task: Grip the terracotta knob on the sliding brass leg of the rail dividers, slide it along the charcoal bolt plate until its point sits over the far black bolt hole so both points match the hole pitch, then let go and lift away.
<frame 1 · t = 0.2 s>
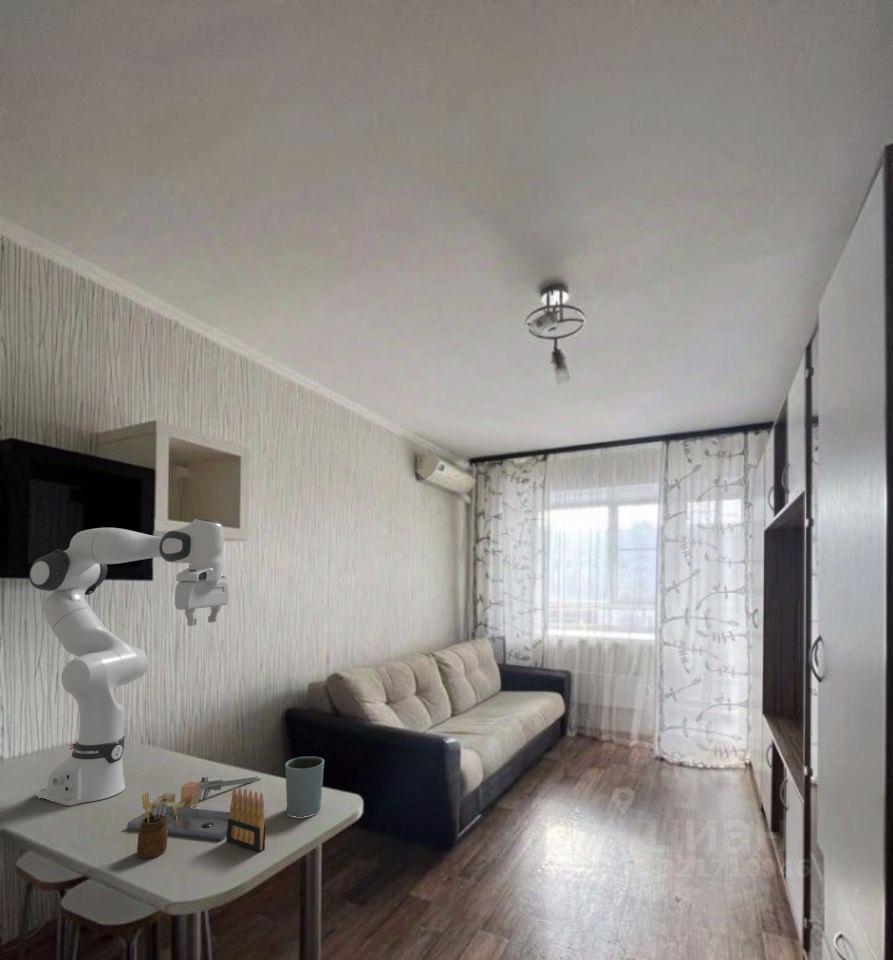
hand: (202, 623, 157), 47 cm above the table, tool pointing down, fingers open, 8 cm apart
utensil holder: (151, 853, 124), on the table
ammunition clip: (245, 846, 127), on the table
bolt plate: (187, 825, 137), on the table
caliper: (229, 791, 159), on the table
grey-teal cup: (303, 811, 145), on the table
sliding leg: (184, 800, 139), point 5 cm above the table, slide at 0.0 cm
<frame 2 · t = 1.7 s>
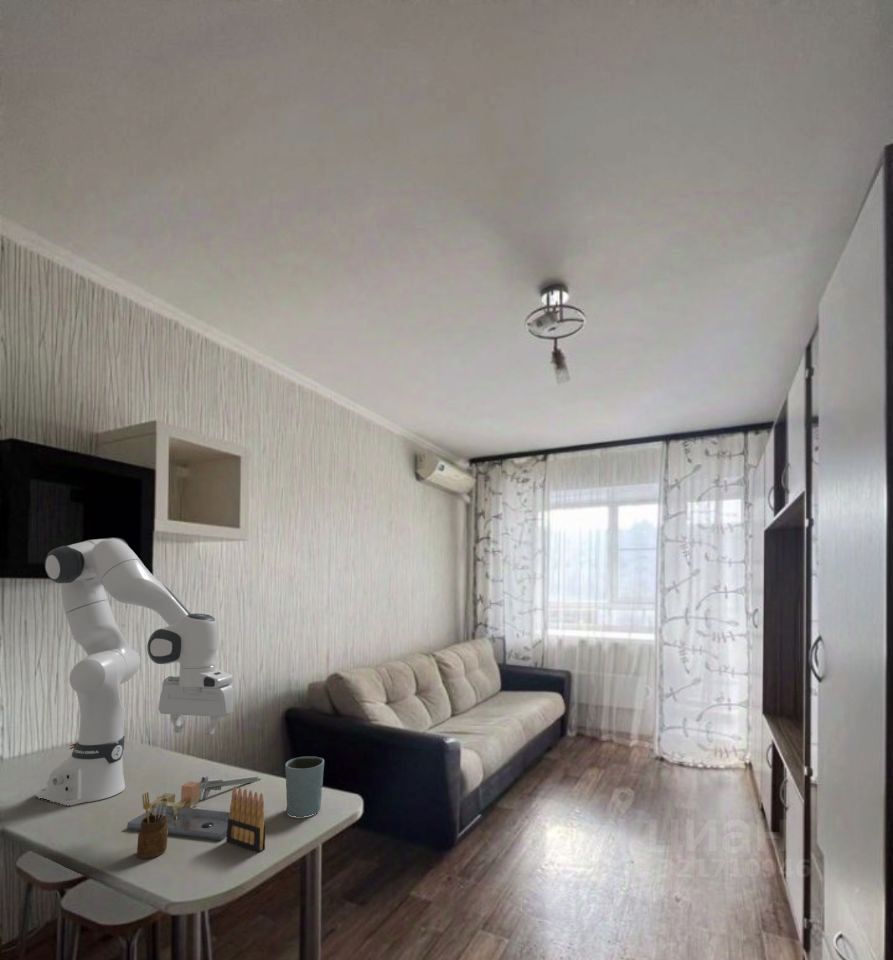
hand: (194, 733, 143), 21 cm above the table, tool pointing down, fingers open, 8 cm apart
nothing on the table moved.
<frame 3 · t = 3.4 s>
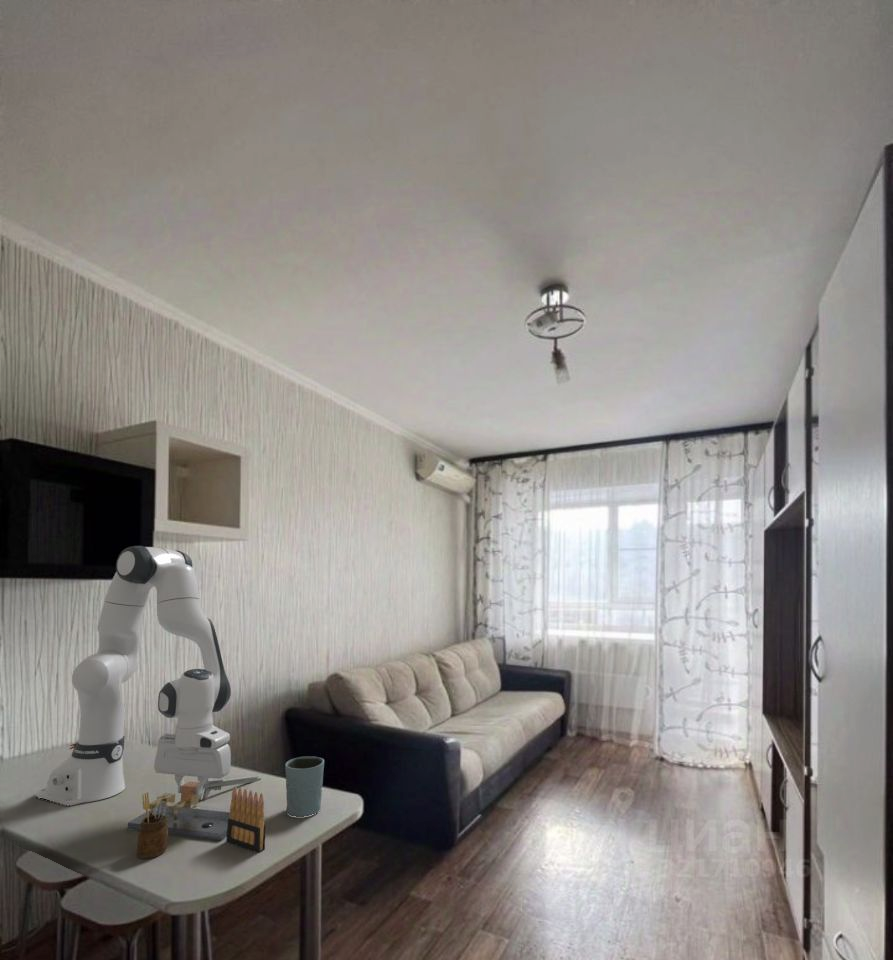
hand: (190, 793, 141), 6 cm above the table, tool pointing down, fingers closed on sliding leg, 3 cm apart
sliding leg: (184, 800, 139), point 5 cm above the table, slide at 0.0 cm, touching gripper
everything else where it was.
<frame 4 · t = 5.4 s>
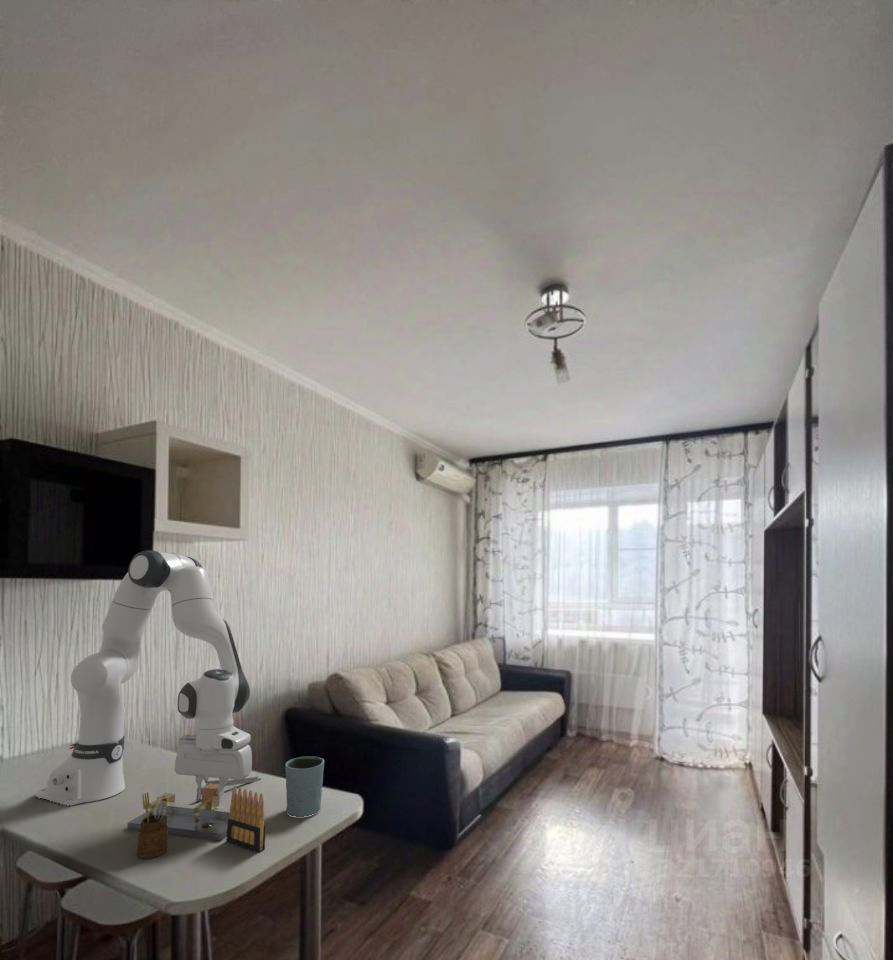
hand: (211, 794, 140), 6 cm above the table, tool pointing down, fingers closed on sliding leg, 3 cm apart
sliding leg: (205, 802, 138), point 5 cm above the table, slide at 6.0 cm, touching gripper
everything else where it was.
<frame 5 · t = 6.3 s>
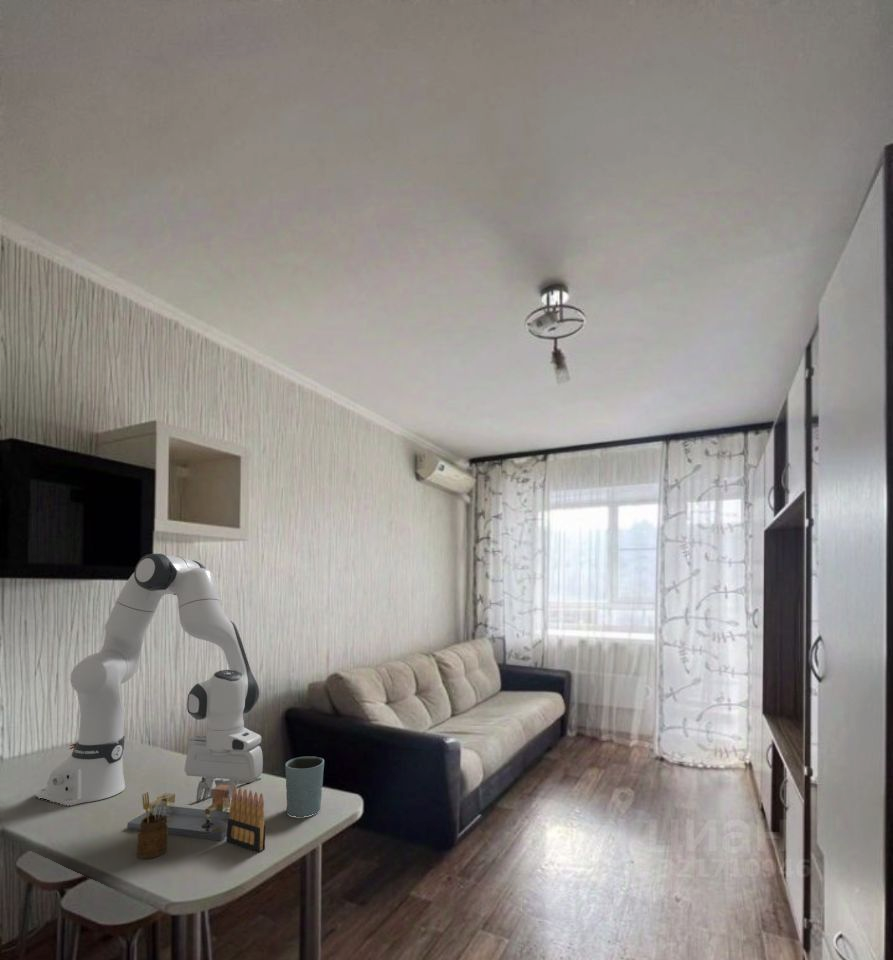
hand: (221, 796, 139), 6 cm above the table, tool pointing down, fingers closed on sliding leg, 3 cm apart
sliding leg: (216, 803, 137), point 5 cm above the table, slide at 9.1 cm, touching gripper
everything else where it was.
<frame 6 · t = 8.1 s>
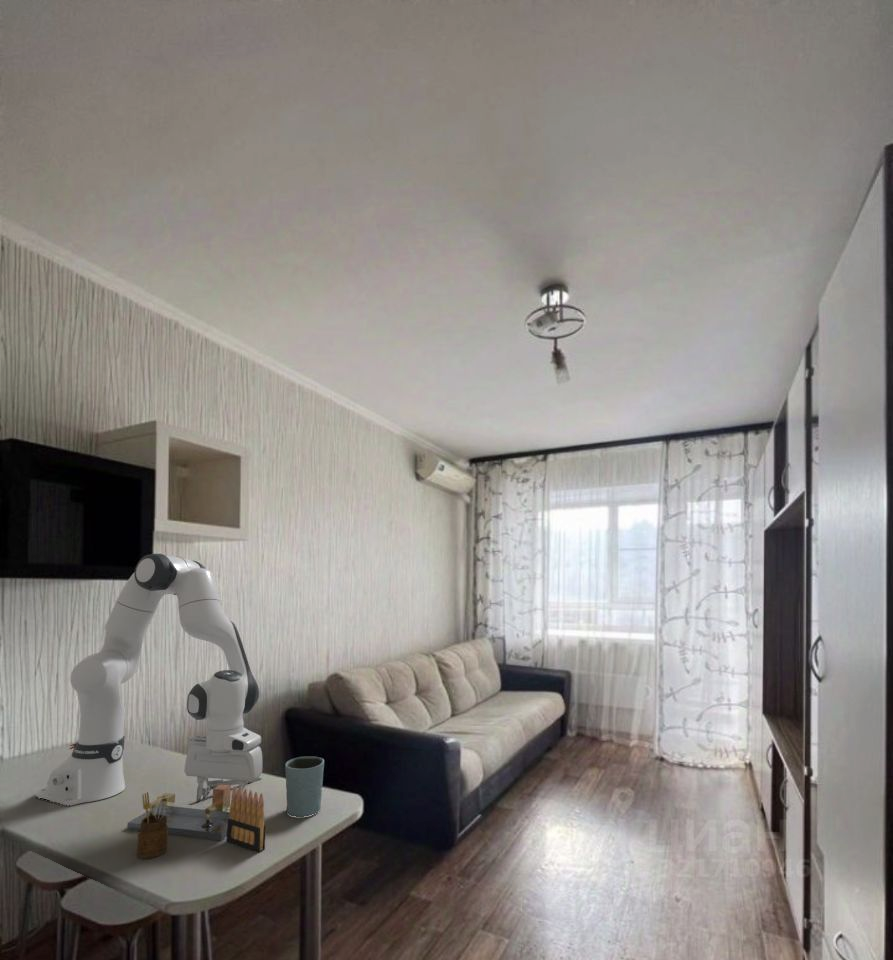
hand: (221, 796, 139), 6 cm above the table, tool pointing down, fingers open, 8 cm apart
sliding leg: (216, 803, 137), point 5 cm above the table, slide at 9.1 cm
everything else where it was.
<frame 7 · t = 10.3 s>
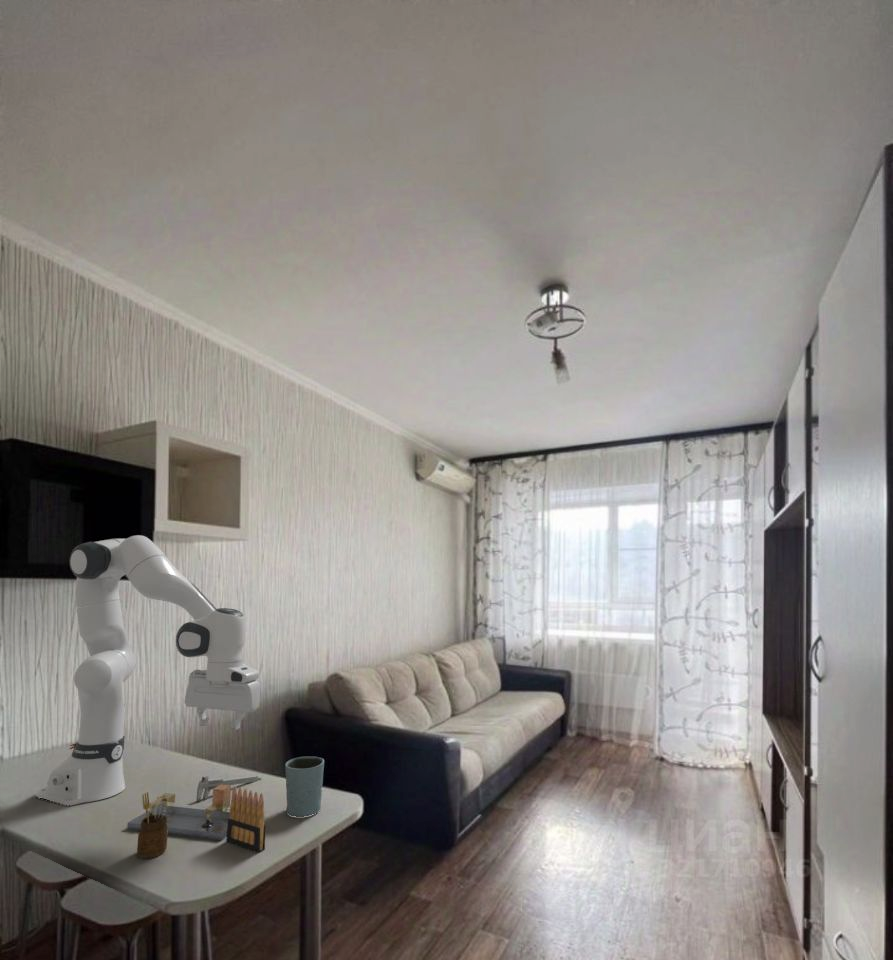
hand: (219, 727, 144), 22 cm above the table, tool pointing down, fingers open, 8 cm apart
nothing on the table moved.
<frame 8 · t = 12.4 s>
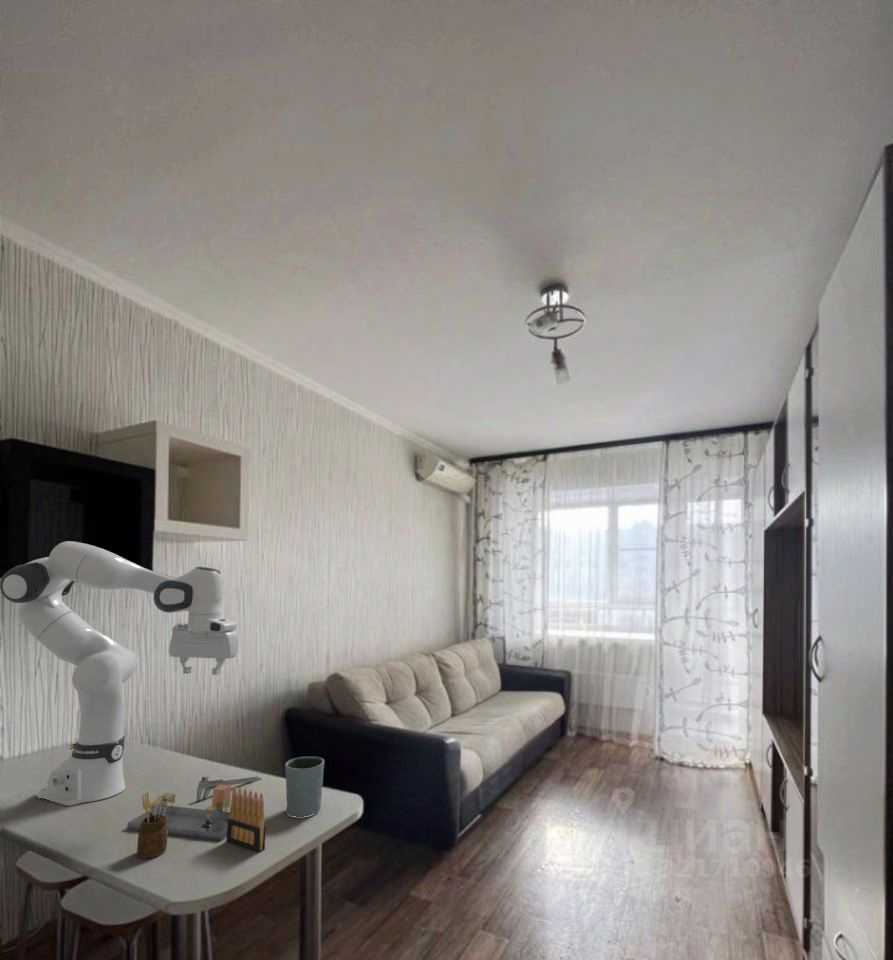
hand: (201, 673, 158), 33 cm above the table, tool pointing down, fingers open, 8 cm apart
nothing on the table moved.
at the end: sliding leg slide at 9.1 cm; utensil holder moved 0.2 cm from its start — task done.
